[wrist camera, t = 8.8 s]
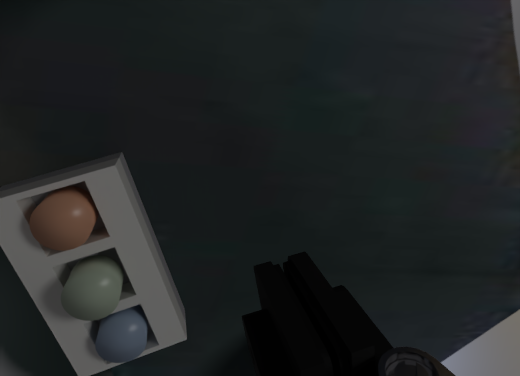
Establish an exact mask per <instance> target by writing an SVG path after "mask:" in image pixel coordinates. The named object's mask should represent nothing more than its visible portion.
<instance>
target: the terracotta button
mask: <svg viewBox="0 0 520 376" xmlns="http://www.w3.org/2000/svg"><path fill="white" fill-rule="evenodd" d="M98 215H99V211H98V209H97V207H96V205H95V202H94V200H93V198H92V196H91V194H90V193H89V192H87V191H86V190H84V189H81V188H79V187H74V186H65V187H62V188H58V189H55V190H53V191H52V192H50V193H49V194H48V195H47V196H46V197H45V199H44V200H43V201H42V202H41V203H40V204H39V205H38V206H37V207H36V208H35V210H34V211H33V212H32V214H31V217H30V221H29V226H30V230H31V233H32V235H33V236H34V238H35V239H36V240H37V241H38V242H39V243H40V244H42V245H43V246H45V247H47V248H50V249H53V250H61V251H63V250H71V249H74V248H77V247H79V246H81V245H82V244H83V243H85V242H86V240H87V239H88V238H89V236H90V234H91V232H92V230H93V227H94V225H95V223H96V221H97V218H98Z"/></svg>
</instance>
